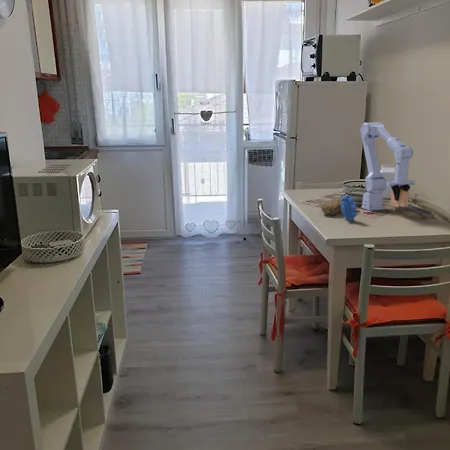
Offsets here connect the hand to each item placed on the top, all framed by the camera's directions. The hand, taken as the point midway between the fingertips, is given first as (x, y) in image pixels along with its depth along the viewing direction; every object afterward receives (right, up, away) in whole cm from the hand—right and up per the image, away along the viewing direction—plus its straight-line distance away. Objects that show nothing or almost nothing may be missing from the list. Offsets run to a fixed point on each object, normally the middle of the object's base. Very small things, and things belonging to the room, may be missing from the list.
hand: (399, 200), depth 224 cm
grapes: (-26, -10, -3) cm, 28 cm away
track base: (+9, -6, +6) cm, 13 cm away
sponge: (-28, -6, +11) cm, 30 cm away
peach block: (0, -2, +1) cm, 2 cm away
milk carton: (+8, +4, +41) cm, 42 cm away
